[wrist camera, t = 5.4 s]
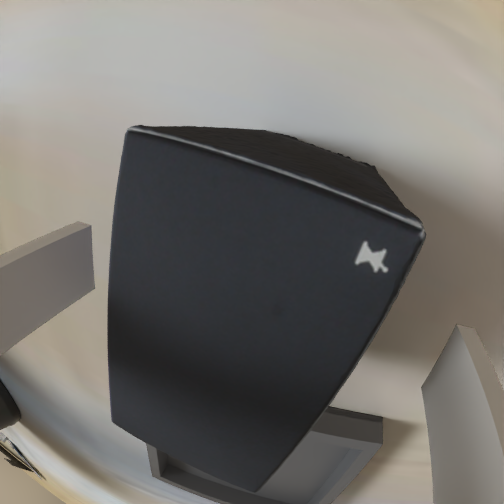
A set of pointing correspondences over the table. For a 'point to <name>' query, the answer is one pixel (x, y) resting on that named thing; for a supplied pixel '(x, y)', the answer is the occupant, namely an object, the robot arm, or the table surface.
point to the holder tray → (291, 465)
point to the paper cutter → (14, 461)
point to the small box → (244, 290)
